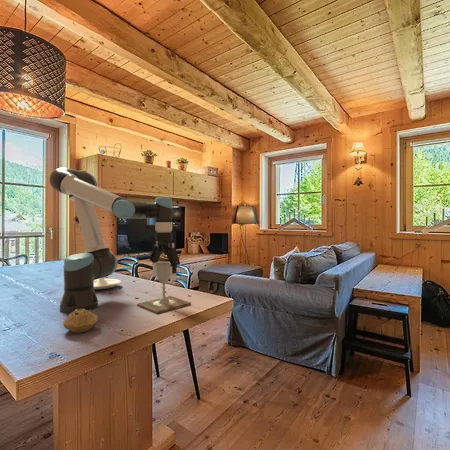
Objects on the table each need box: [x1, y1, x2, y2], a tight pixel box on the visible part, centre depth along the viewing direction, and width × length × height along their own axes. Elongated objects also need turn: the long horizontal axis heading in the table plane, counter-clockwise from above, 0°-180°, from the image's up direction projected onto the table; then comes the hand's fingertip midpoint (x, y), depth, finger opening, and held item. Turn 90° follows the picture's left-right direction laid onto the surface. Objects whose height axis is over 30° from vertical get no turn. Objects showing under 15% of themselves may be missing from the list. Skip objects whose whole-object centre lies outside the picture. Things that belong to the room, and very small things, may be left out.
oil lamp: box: [63, 309, 99, 334], centre depth 103 cm, size 11×15×8 cm
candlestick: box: [94, 238, 122, 291], centre depth 162 cm, size 21×25×28 cm
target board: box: [136, 295, 192, 315], centre depth 131 cm, size 18×16×1 cm
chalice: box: [155, 261, 171, 304], centre depth 131 cm, size 7×7×18 cm
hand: (164, 278), depth 131 cm, fingers open, 13 cm apart
